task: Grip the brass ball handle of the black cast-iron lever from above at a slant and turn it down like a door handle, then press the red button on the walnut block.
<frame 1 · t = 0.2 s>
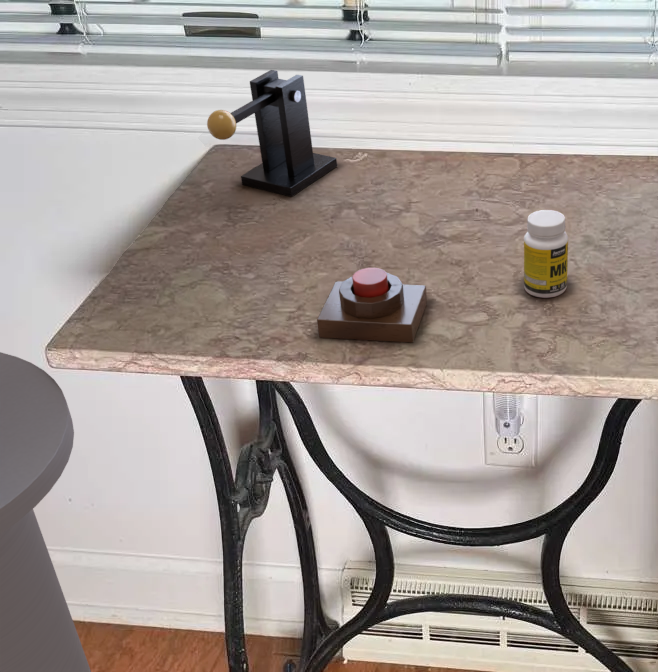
button: (370, 283, 123), point 4 cm above the table, slide at 0.1 cm
button block: (374, 320, 126), on the table
lever: (250, 108, 144), point 11 cm above the table, hinge at 0.0°
bracket: (290, 175, 155), on the table
supplement bottle: (545, 289, 130), on the table
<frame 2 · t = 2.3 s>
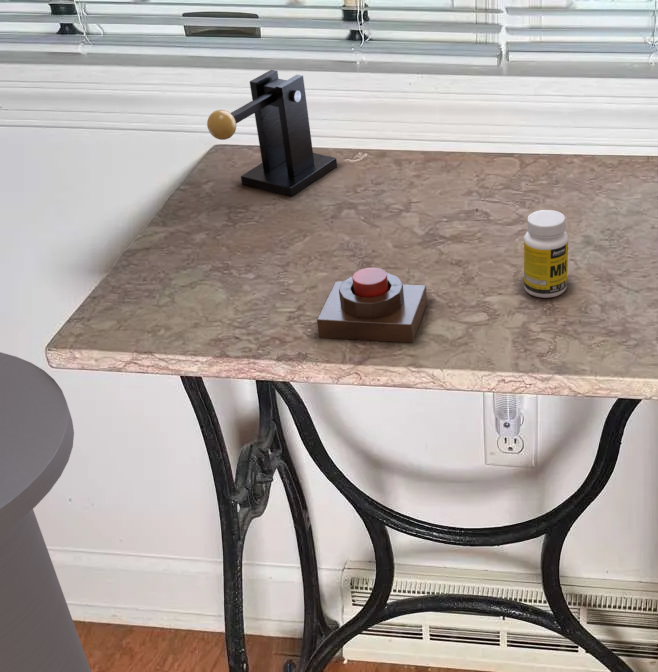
nothing on the table moved.
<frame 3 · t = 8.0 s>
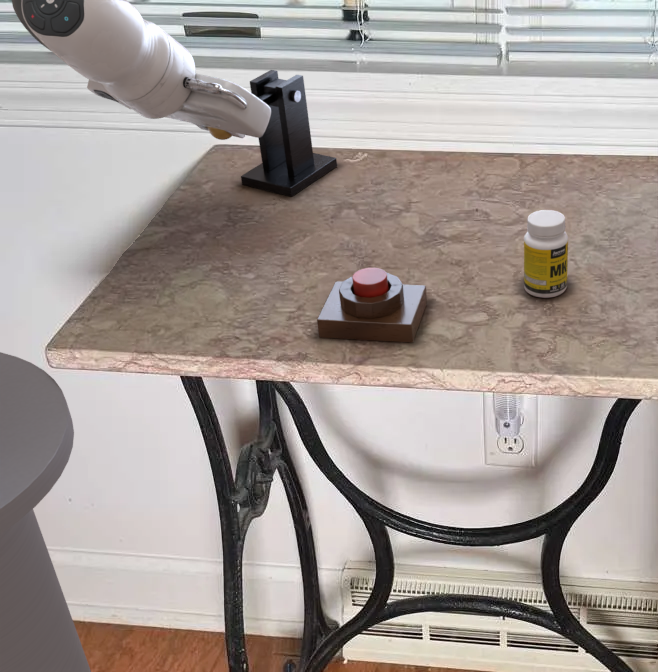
hand: (225, 128, 141), 10 cm above the table, tool tilted 45°, fingers closed on lever, 3 cm apart
lever: (250, 108, 144), point 11 cm above the table, hinge at 0.0°, touching gripper
everything else where it was.
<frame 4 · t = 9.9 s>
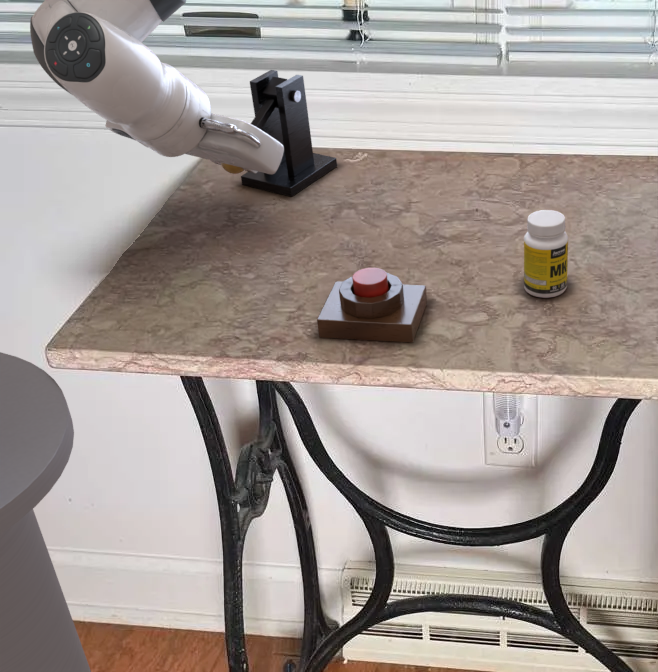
hand: (239, 162, 145), 5 cm above the table, tool tilted 45°, fingers closed on lever, 3 cm apart
lever: (255, 126, 146), point 9 cm above the table, hinge at -25.7°, touching gripper
everything else where it was.
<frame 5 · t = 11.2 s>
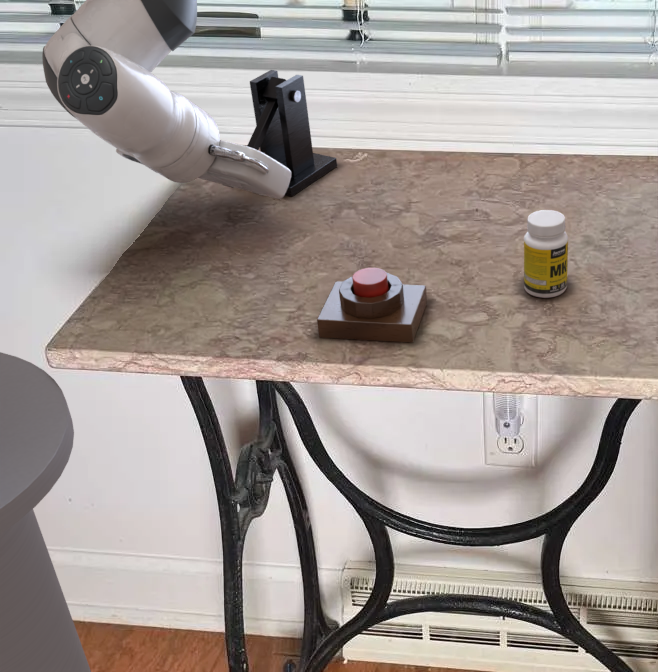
hand: (246, 184, 148), 2 cm above the table, tool tilted 45°, fingers closed on lever, 3 cm apart
lever: (260, 132, 147), point 8 cm above the table, hinge at -37.0°, touching gripper
everything else where it was.
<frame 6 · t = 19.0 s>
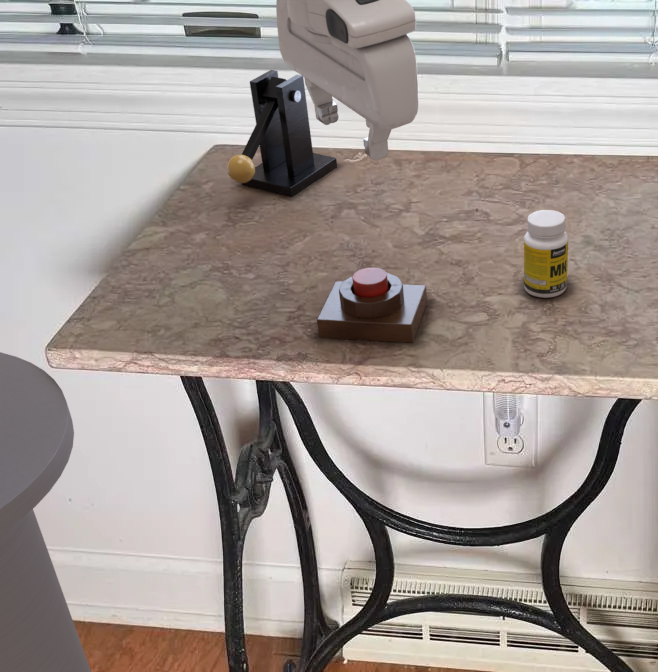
hand: (351, 138, 115), 20 cm above the table, tool pointing down, fingers open, 8 cm apart
lever: (259, 131, 147), point 8 cm above the table, hinge at -35.4°
everything else where it was.
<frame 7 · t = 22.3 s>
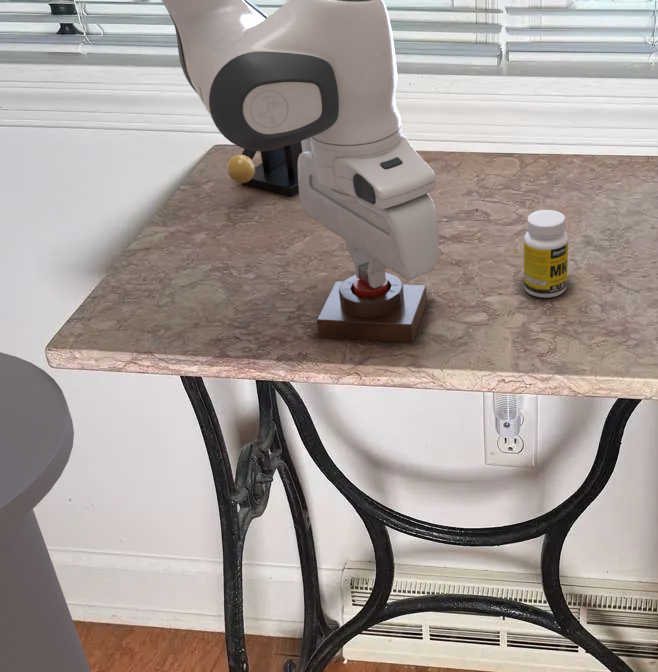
hand: (371, 281, 123), 5 cm above the table, tool pointing down, fingers closed, pressing on button
button: (371, 289, 124), point 4 cm above the table, slide at -0.7 cm, touching gripper
everything else where it was.
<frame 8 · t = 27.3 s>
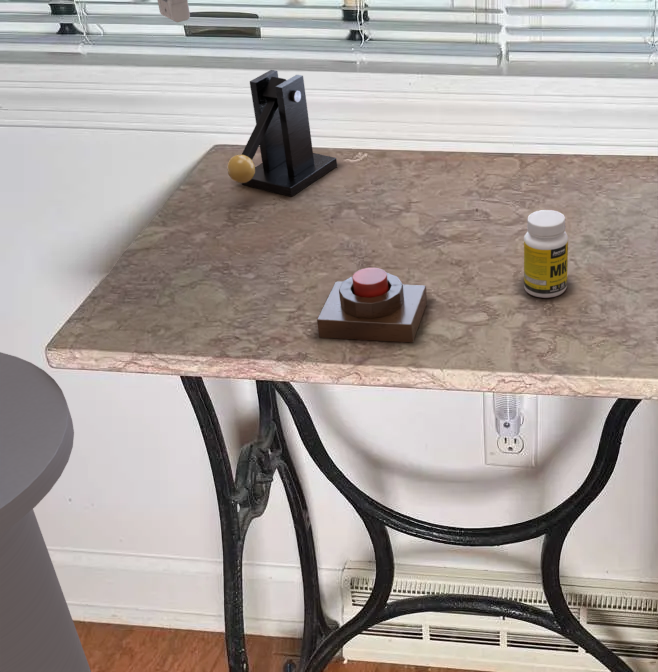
hand: (175, 17, 115), 29 cm above the table, tool pointing down, fingers closed
button: (370, 283, 123), point 4 cm above the table, slide at 0.1 cm
everything else where it was.
at the end: lever at -35° (first picture: +0°); button pushed in 1.1 cm at the most during the clip, back to where it started at the end; button slide at 0.1 cm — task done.
